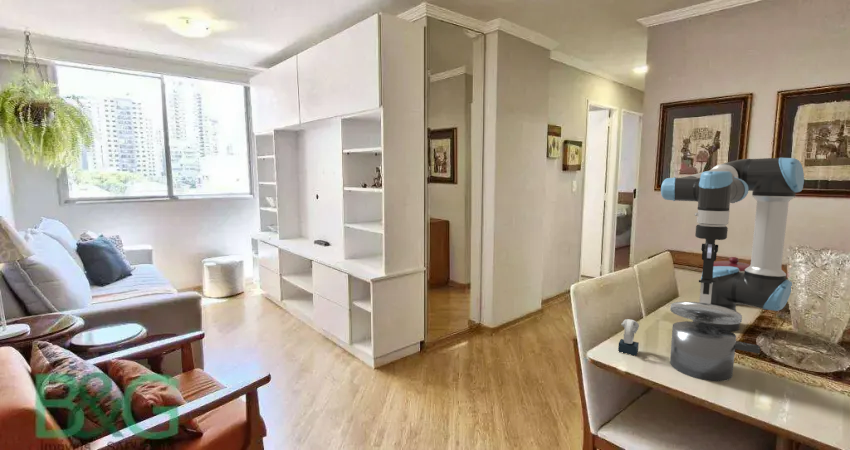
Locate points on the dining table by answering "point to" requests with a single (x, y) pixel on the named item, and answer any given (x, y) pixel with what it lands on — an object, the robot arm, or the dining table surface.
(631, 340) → the watch
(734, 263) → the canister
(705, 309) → the lid
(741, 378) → the dining table surface
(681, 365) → the cooker pot
